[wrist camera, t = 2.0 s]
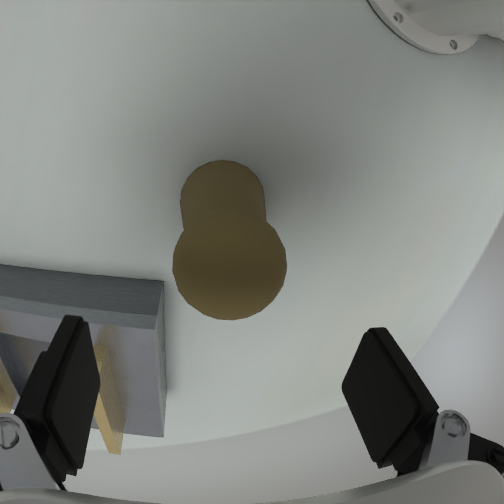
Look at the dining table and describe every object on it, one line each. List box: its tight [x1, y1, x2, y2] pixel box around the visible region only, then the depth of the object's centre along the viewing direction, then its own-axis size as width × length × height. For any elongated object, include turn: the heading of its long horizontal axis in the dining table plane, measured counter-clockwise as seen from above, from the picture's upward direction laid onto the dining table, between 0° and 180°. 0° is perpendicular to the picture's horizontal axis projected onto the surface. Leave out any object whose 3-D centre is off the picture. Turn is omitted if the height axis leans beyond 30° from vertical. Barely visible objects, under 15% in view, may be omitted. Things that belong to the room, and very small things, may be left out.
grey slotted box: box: [0, 265, 167, 454], centre depth 23 cm, size 20×14×10 cm
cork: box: [172, 160, 287, 320], centre depth 18 cm, size 6×6×11 cm
